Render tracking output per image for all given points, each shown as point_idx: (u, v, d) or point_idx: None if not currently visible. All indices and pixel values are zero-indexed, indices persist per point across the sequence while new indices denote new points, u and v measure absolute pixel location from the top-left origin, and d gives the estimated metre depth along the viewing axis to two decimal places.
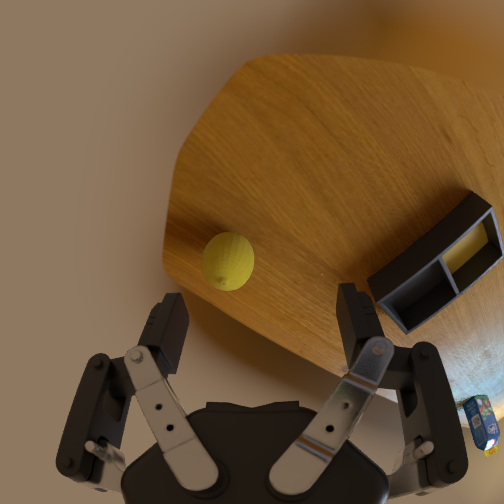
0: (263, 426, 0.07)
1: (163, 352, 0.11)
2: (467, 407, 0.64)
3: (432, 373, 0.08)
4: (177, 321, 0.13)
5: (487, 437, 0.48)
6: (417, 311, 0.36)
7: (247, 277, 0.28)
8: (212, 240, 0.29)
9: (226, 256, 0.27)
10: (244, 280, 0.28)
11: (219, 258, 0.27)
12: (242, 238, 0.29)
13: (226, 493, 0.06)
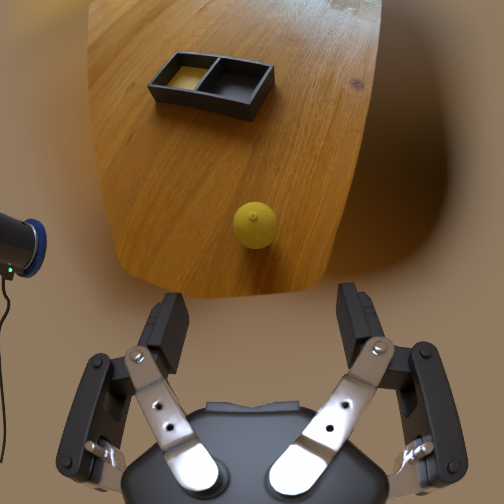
0: (263, 426, 0.07)
1: (163, 352, 0.11)
2: None
3: (432, 373, 0.08)
4: (177, 321, 0.13)
5: None
6: (255, 71, 0.41)
7: (251, 202, 0.33)
8: (242, 244, 0.34)
9: (235, 224, 0.32)
10: (252, 203, 0.32)
11: (238, 229, 0.32)
12: None
13: (226, 493, 0.06)
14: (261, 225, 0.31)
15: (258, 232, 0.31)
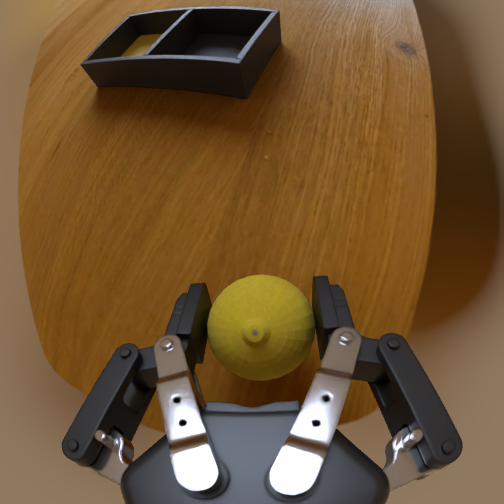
0: (263, 426, 0.07)
1: (192, 341, 0.11)
2: None
3: (404, 363, 0.08)
4: (203, 311, 0.13)
5: None
6: (249, 24, 0.22)
7: (250, 281, 0.13)
8: None
9: (212, 342, 0.12)
10: (253, 285, 0.12)
11: (220, 355, 0.12)
12: None
13: (226, 493, 0.06)
14: (278, 352, 0.11)
15: (270, 367, 0.11)
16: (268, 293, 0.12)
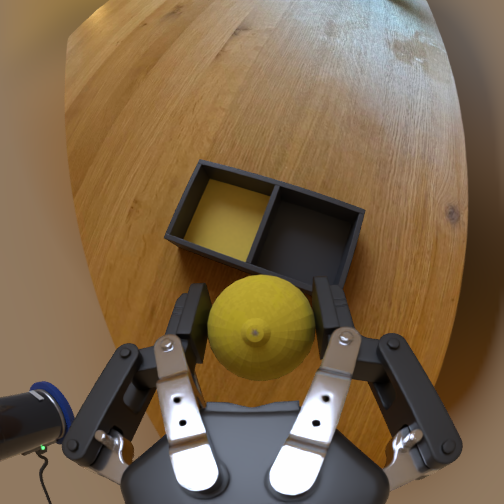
0: (263, 426, 0.07)
1: (192, 341, 0.11)
2: None
3: (404, 363, 0.08)
4: (203, 311, 0.13)
5: None
6: (333, 211, 0.31)
7: (250, 281, 0.13)
8: None
9: (212, 342, 0.12)
10: (253, 285, 0.12)
11: (220, 355, 0.12)
12: None
13: (226, 493, 0.06)
14: (278, 352, 0.11)
15: (271, 367, 0.11)
16: (268, 293, 0.12)
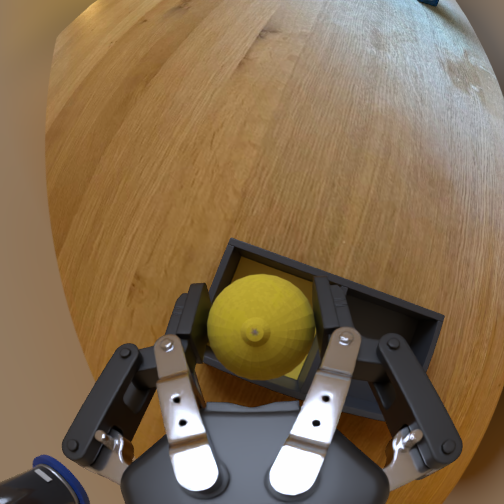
0: (263, 426, 0.07)
1: (192, 341, 0.11)
2: None
3: (404, 363, 0.08)
4: (203, 311, 0.13)
5: None
6: (405, 312, 0.22)
7: (250, 281, 0.13)
8: None
9: (212, 342, 0.12)
10: (253, 285, 0.12)
11: (220, 355, 0.12)
12: None
13: (226, 493, 0.06)
14: (278, 351, 0.11)
15: (270, 367, 0.11)
16: (268, 292, 0.12)
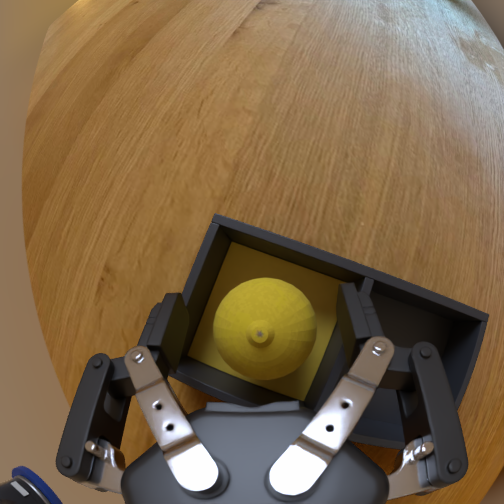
0: (263, 426, 0.07)
1: (163, 352, 0.11)
2: None
3: (432, 373, 0.08)
4: (177, 321, 0.13)
5: None
6: (441, 311, 0.16)
7: (255, 284, 0.13)
8: None
9: (218, 343, 0.13)
10: (257, 289, 0.13)
11: (226, 355, 0.12)
12: None
13: (226, 493, 0.06)
14: (282, 352, 0.11)
15: (274, 367, 0.12)
16: (272, 296, 0.12)
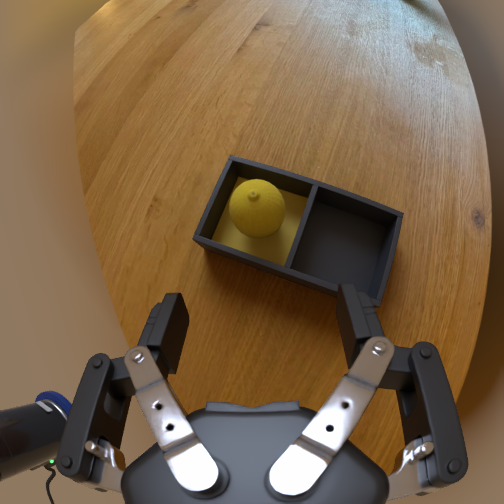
0: (263, 426, 0.07)
1: (163, 352, 0.11)
2: None
3: (432, 373, 0.08)
4: (177, 321, 0.13)
5: None
6: (370, 214, 0.29)
7: (251, 180, 0.26)
8: (242, 232, 0.28)
9: (232, 207, 0.26)
10: (252, 180, 0.26)
11: (236, 212, 0.25)
12: None
13: (226, 493, 0.06)
14: (264, 205, 0.24)
15: (261, 214, 0.25)
16: (259, 181, 0.25)
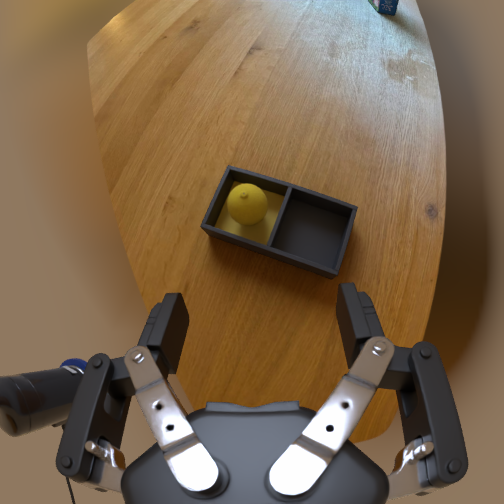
0: (263, 426, 0.07)
1: (163, 352, 0.11)
2: (391, 9, 0.51)
3: (432, 373, 0.08)
4: (177, 321, 0.13)
5: None
6: (333, 208, 0.40)
7: (243, 184, 0.37)
8: (236, 221, 0.38)
9: (229, 203, 0.36)
10: (243, 184, 0.36)
11: (232, 206, 0.36)
12: None
13: (226, 493, 0.06)
14: (251, 201, 0.35)
15: (249, 208, 0.35)
16: (248, 185, 0.36)
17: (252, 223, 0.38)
